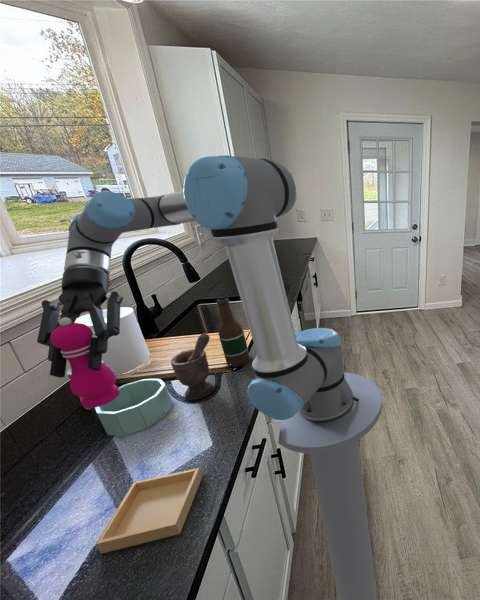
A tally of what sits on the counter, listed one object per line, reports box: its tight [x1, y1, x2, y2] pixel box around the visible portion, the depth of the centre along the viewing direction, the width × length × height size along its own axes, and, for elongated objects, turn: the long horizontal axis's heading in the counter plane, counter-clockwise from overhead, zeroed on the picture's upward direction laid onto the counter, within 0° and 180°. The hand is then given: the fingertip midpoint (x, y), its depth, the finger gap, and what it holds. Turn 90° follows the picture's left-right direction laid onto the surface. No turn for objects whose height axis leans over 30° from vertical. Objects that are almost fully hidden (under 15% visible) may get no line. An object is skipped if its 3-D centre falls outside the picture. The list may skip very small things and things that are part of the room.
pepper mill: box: [50, 317, 120, 409], centre depth 66 cm, size 7×7×20 cm
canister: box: [75, 306, 153, 380], centre depth 108 cm, size 16×16×20 cm
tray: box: [95, 467, 203, 555], centre depth 60 cm, size 12×12×3 cm
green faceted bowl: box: [90, 378, 174, 436], centre depth 86 cm, size 17×15×7 cm
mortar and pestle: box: [170, 333, 214, 402], centre depth 92 cm, size 12×9×20 cm
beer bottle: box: [216, 297, 251, 368], centre depth 107 cm, size 8×8×24 cm
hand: (76, 372), depth 63 cm, fingers closed on pepper mill, 5 cm apart
